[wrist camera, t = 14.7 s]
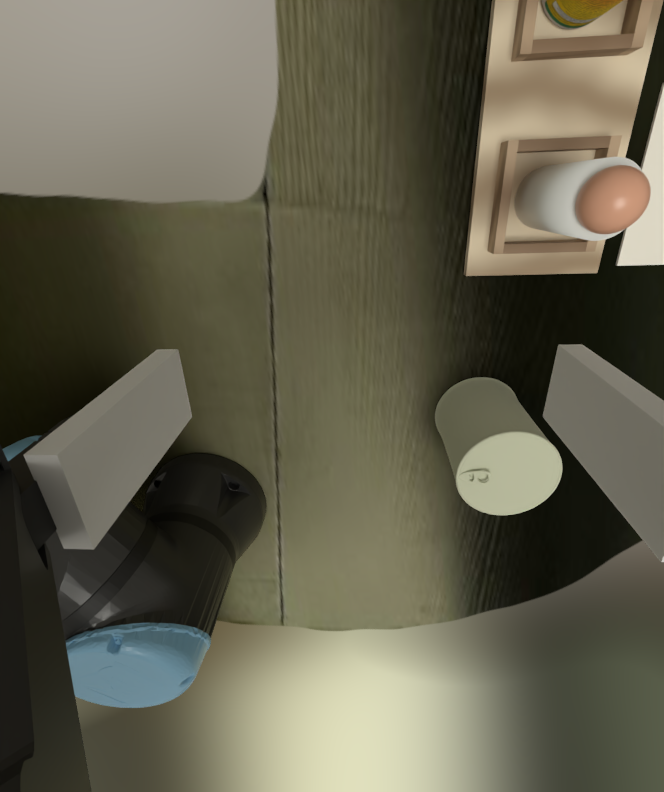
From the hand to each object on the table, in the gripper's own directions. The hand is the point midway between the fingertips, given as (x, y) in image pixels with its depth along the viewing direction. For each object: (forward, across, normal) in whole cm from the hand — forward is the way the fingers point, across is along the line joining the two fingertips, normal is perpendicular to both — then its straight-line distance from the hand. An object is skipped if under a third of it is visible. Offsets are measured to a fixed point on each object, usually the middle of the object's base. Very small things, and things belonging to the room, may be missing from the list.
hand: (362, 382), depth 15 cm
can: (+29, +13, -17) cm, 36 cm away
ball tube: (+28, +16, +5) cm, 32 cm away
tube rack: (+29, +16, +12) cm, 35 cm away
